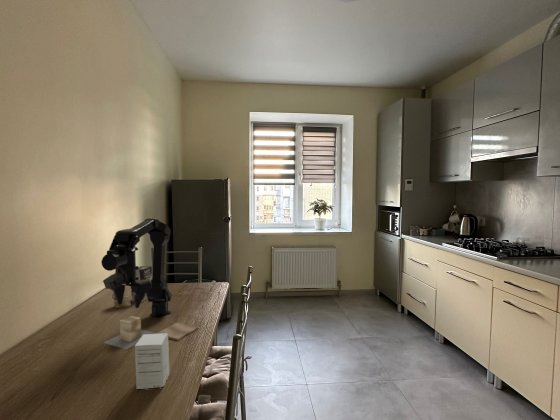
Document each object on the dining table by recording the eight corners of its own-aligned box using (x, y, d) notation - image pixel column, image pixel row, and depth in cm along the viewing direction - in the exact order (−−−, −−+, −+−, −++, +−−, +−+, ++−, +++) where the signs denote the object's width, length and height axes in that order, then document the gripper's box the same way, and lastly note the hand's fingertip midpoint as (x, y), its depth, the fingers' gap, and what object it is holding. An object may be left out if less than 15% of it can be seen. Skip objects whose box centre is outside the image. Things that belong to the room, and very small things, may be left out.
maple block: (131, 333, 123) (131, 315, 123) (141, 336, 121) (140, 317, 121) (120, 339, 119) (119, 320, 119) (129, 341, 117) (129, 322, 116)
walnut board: (177, 324, 132) (177, 322, 132) (198, 329, 127) (198, 327, 127) (156, 335, 122) (156, 333, 122) (178, 340, 117) (178, 338, 117)
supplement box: (144, 375, 95) (143, 333, 94) (170, 374, 96) (168, 332, 95) (135, 390, 88) (133, 345, 87) (163, 389, 88) (161, 344, 88)
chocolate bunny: (121, 303, 159) (121, 283, 158) (132, 305, 155) (131, 285, 154) (111, 306, 154) (110, 286, 153) (122, 309, 150) (121, 288, 149)
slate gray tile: (135, 328, 129) (135, 327, 129) (157, 334, 124) (157, 333, 124) (102, 343, 116) (102, 342, 116) (125, 350, 111) (125, 349, 111)
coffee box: (142, 302, 160) (141, 270, 159) (131, 301, 161) (130, 269, 160) (153, 296, 169) (152, 265, 168) (142, 295, 170) (141, 265, 169)
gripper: (90, 266, 116) (91, 309, 116) (125, 271, 107) (126, 317, 108) (117, 260, 126) (119, 300, 126) (152, 265, 117) (153, 307, 118)
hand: (128, 306), depth 119 cm, fingers open, 9 cm apart
